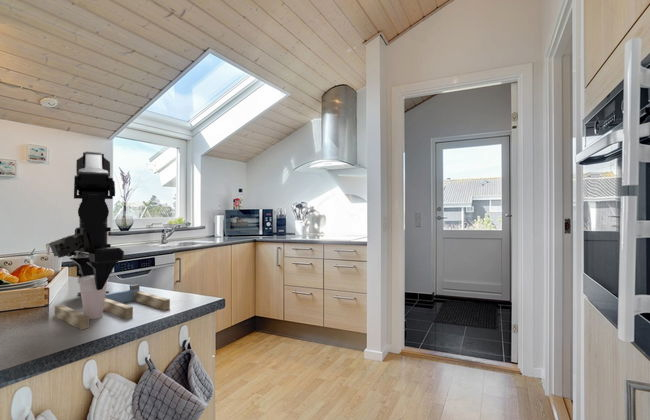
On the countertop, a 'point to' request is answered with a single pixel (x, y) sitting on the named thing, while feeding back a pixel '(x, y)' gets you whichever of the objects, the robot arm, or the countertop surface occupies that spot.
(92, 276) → the smoothie
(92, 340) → the countertop surface
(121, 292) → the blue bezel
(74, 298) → the countertop surface
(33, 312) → the countertop surface
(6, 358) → the countertop surface
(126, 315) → the divider rack
